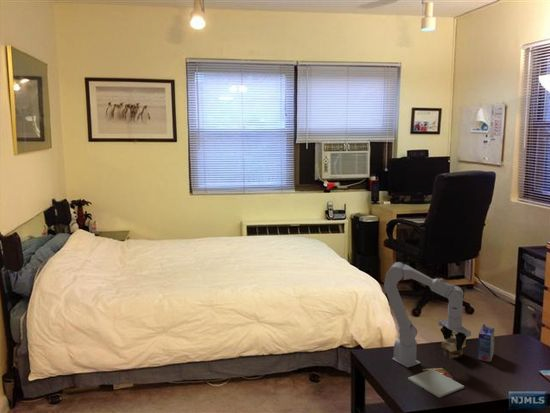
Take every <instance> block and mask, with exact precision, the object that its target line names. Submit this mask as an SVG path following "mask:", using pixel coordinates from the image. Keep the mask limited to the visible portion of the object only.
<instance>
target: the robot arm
mask: <svg viewBox="0 0 550 413" xmlns="http://www.w3.org/2000/svg"><path fill="white" fill-rule="evenodd" d="M402 279H403V281H404V280H405V281H406V280H411V279H412V280H415V281H416V282H419V283H421V284H423V285H425V286H428V287H429V289H430V291H431V292H434V293H436V294H438V295H439V296H442V297H444V298H447V300H448V305H447V318H446V319H447V320H446V321H445V320H438V326H439V327H441V326H442V327H441V328H440V332H441V334H442V335H443V340H445V339H448V338H451V334H452V330H453V331H456V332H458V333H459V334H455V337H456V342H457V346H456V347H457V350H461V348H462V345H463V343H464V341H465V340H467V338H468V337H471V335H472V331H471V330H469V329H467V328H465V327H464V326H463V310H464V309H463V308H464V307H463V304H464V303H463V301H464V296H465V295H464V294H465V293H464V290H463V288H461V287H460V286H458V285H455V284H450V283H448V282H446V281H444V279H443V278H438V277H437V278H431V277H430V276H428V275H427V274H424V273H423V272H420V271H419V270H417V269H415V268H413V267H411V266H410V265H408V264H406V263H405V264H404V263H403V262H401V261H396V262H394V263H393V264H392V265H391V266H390V268H389V269H388V270H387V272H386V273H385V279H384V282H383V288H384V291H385V293H386V295H387V298H388V300H389V304H390V307H391V308H392V311H393V315H394V317H395V320H396V322H397V326H398V327H397V330H398V332H399V336H398V339H396V341H395V342H394V344H393V357H392V360H393V361H395V362H397V363H399V364H401V365H402V366H404V367H406V368H410V367H414V366H416V365H419V364H422V363H421V361H419V360H417V349H418V348H417V346H418V345H417V340H416V337H417V335H418V329H417V328H416V327H415V325H414V324H413V322H412V320H410V319H409V315H408V313H407V311H406V308H405V306H404V302H403V299H402V297H401V295H400V292H399V290H398V287H397V285H398V284H399V282H400V281H401V280H402Z"/></svg>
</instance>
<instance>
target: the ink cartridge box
mask: <svg viewBox="0 0 550 413" xmlns="http://www.w3.org/2000/svg"><path fill="white" fill-rule="evenodd" d="M477 350H478V351H477V353H478V355H477V357H478V358H477V359H478V360H480V361H485V362H489V363H490V362H492V359H493V357H494V354H495V328H494V327H489V326H486V324H485V323H484V324H483V325H482V327H481V328H480V331H479V332H478V349H477Z"/></svg>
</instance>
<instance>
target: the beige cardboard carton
mask: <svg viewBox="0 0 550 413" xmlns="http://www.w3.org/2000/svg"><path fill="white" fill-rule="evenodd" d="M466 341H467V339H465V341H464V343H463V345H462V348H461V350H459V354H460V355H462V356H463V355H464V348H465V347H466V344H467V342H466ZM456 346H457V342H456V337H455V336H454V337H451V338H448V339H442V340H441V346H440V347H441V348H442V349H443V356H444V357H447V356H448V359H450V360H452V359H454V358H453V351H454V352H457V347H456Z"/></svg>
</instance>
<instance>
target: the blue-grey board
mask: <svg viewBox="0 0 550 413" xmlns="http://www.w3.org/2000/svg"><path fill="white" fill-rule="evenodd" d="M407 380H408V381H410V382H411V383H413V384H415V385H417V386H418V387H419V388H422V389H423V388H424V389H423V390H424V391H427V392H429V393H430V394H432V395H434V396H436V397H437V398H443V397H444V396H447V395H450V394H452V393H455V392H457V391H460V390H462V389H464V388H465V385H463V384H461V383H459V382H457V381H456V380H454V379H452V378H450V377H448V376H446V375H444V374H442V373H441V372H439V371H437V370H435V369H433V368H431V369H429V370H426V371H422V372H420V373H417V374H414V375H412V376H409V377H407Z"/></svg>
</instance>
